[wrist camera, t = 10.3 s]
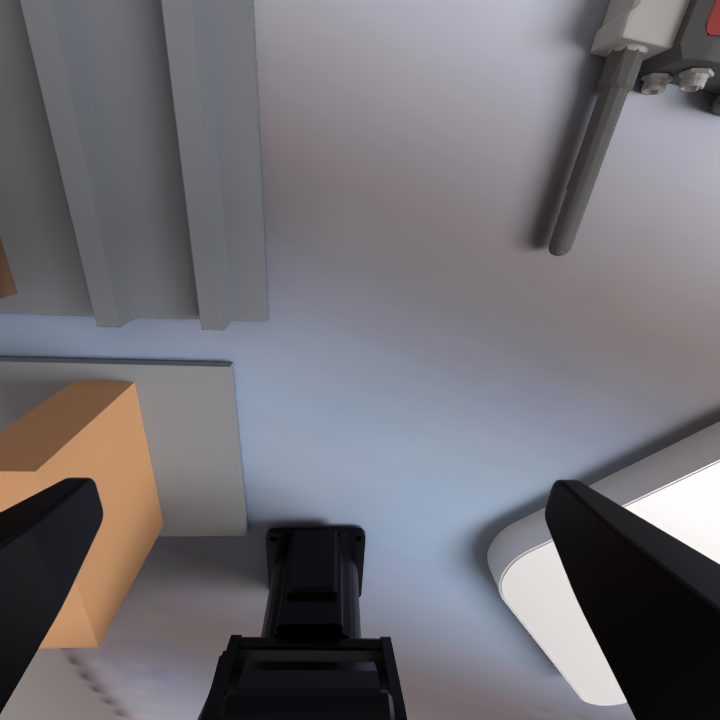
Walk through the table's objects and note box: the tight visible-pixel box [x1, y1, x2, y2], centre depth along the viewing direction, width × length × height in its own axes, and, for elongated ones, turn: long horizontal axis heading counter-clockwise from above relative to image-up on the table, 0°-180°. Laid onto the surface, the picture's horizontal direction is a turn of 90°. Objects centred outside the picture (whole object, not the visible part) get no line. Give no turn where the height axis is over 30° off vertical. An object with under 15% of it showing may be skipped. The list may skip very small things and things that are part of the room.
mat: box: [0, 357, 248, 537], centre depth 22 cm, size 12×13×1 cm
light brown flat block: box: [0, 381, 164, 648], centre depth 18 cm, size 10×3×7 cm, turn 177°
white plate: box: [487, 421, 720, 706], centre depth 28 cm, size 22×22×3 cm
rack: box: [0, 0, 269, 330], centre depth 15 cm, size 13×15×2 cm
